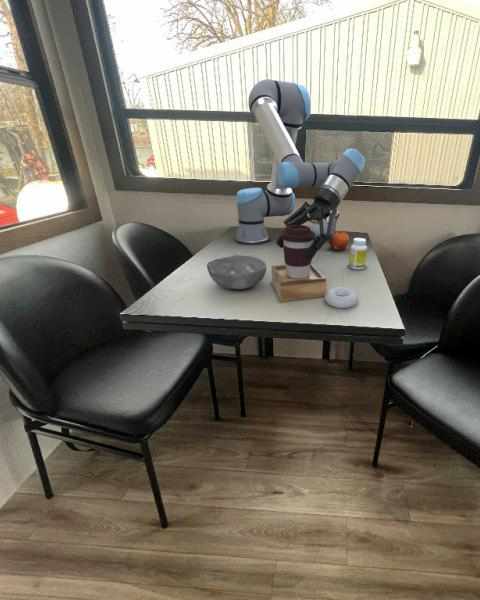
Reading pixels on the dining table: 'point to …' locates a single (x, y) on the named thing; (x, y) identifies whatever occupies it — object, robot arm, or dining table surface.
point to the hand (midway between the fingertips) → (292, 251)
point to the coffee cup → (297, 250)
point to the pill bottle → (358, 253)
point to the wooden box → (298, 284)
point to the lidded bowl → (316, 227)
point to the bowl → (237, 271)
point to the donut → (341, 297)
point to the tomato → (339, 241)
